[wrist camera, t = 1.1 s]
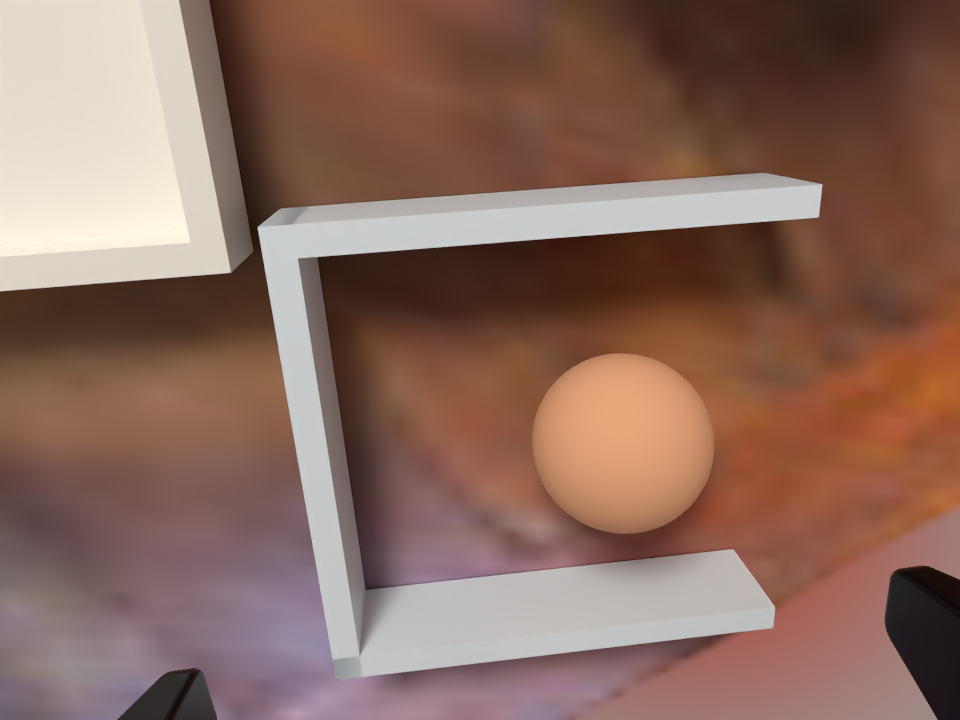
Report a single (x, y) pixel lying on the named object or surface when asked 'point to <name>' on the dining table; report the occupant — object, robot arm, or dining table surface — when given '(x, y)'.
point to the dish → (115, 145)
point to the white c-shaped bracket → (511, 597)
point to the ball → (623, 443)
